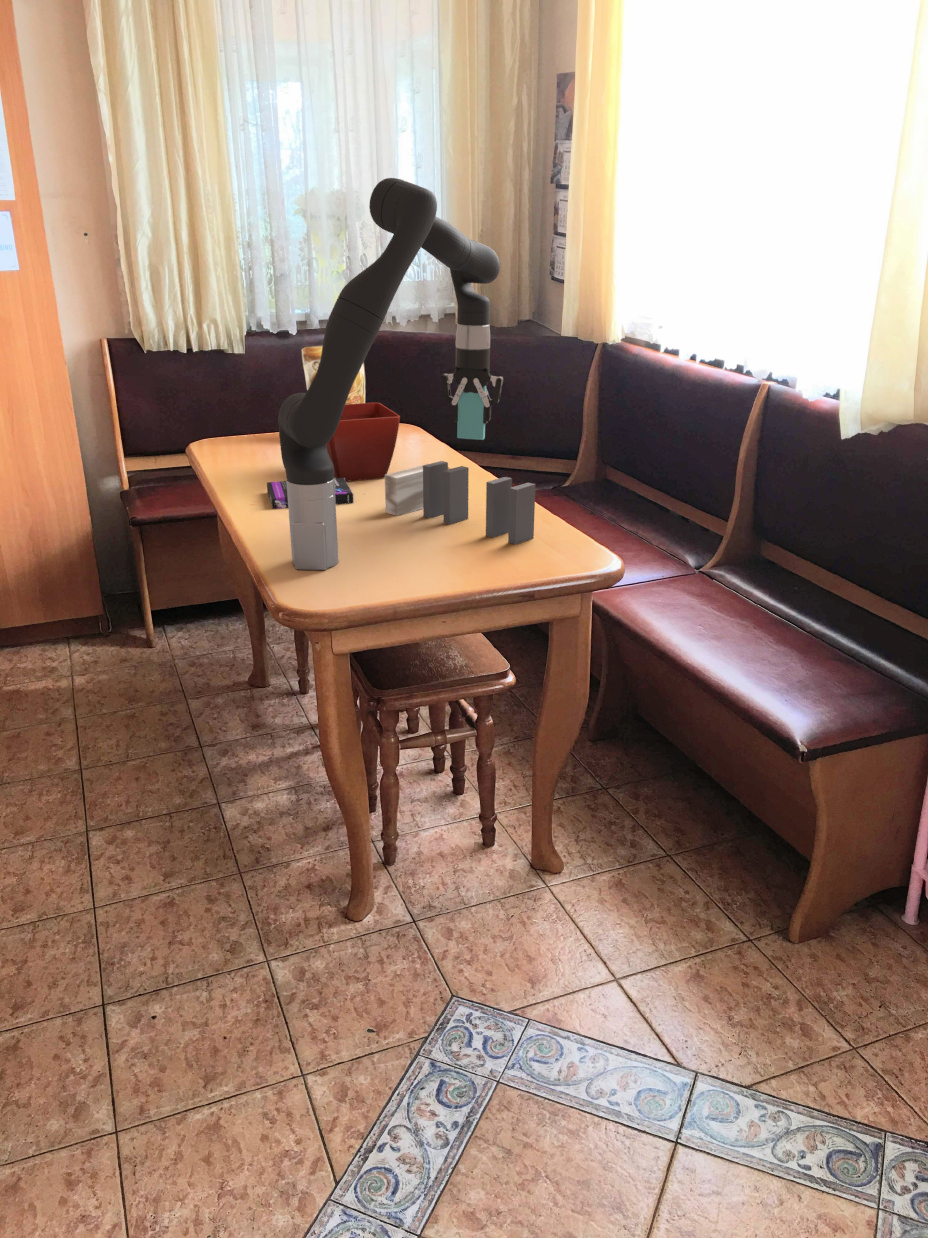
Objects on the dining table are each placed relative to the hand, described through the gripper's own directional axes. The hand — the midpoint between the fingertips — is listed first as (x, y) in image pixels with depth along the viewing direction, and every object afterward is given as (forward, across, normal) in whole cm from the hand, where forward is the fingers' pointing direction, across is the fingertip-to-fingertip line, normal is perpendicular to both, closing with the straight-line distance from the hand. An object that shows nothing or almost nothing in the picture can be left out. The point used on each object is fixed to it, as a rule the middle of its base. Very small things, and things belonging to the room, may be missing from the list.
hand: (471, 421), depth 218 cm
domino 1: (+21, +7, +4) cm, 23 cm away
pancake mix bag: (+21, +53, -60) cm, 83 cm away
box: (+22, +40, -2) cm, 46 cm away
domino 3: (+4, 0, 0) cm, 4 cm away
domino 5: (+21, -15, +18) cm, 31 cm away
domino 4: (+21, -10, +14) cm, 27 cm away
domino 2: (+21, +2, +8) cm, 22 cm away
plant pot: (+21, +36, -25) cm, 49 cm away
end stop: (+21, +13, 0) cm, 25 cm away
